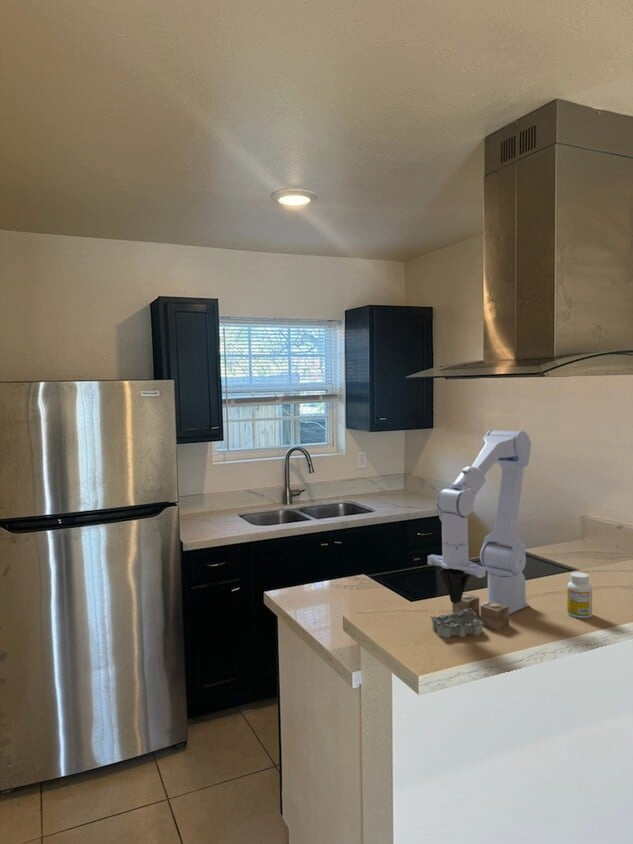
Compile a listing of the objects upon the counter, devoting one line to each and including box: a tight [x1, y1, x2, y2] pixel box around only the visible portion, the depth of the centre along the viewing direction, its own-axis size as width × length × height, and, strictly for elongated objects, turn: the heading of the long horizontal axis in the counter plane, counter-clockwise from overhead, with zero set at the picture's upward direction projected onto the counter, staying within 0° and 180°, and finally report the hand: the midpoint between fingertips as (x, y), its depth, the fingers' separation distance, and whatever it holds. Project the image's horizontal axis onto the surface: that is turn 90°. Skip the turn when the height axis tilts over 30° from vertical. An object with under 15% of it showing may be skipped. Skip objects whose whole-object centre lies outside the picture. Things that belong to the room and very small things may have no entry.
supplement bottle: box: [566, 571, 593, 619], centre depth 140 cm, size 5×5×10 cm
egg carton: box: [430, 608, 484, 639], centre depth 133 cm, size 11×8×4 cm
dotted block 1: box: [451, 592, 481, 617], centre depth 142 cm, size 4×4×5 cm
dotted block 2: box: [480, 601, 510, 631], centre depth 136 cm, size 4×4×5 cm
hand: (456, 601), depth 133 cm, fingers closed
